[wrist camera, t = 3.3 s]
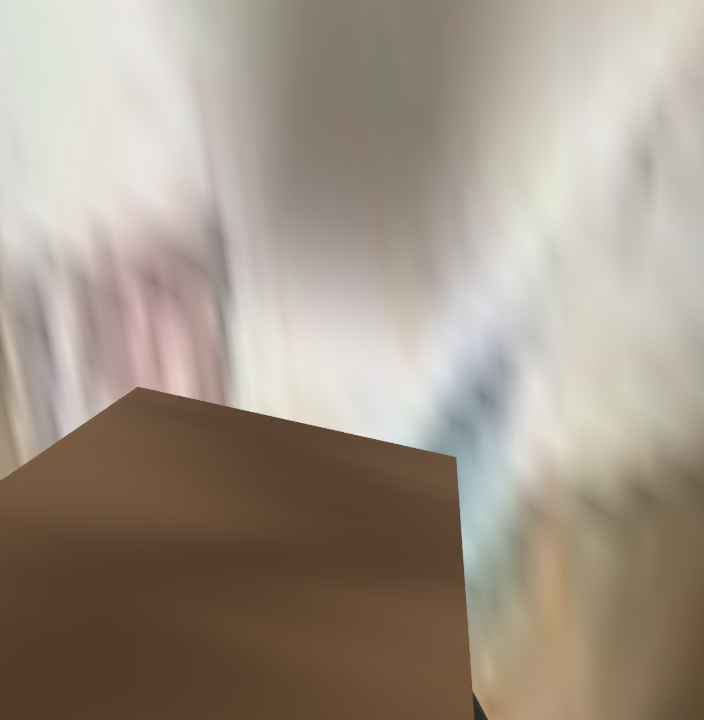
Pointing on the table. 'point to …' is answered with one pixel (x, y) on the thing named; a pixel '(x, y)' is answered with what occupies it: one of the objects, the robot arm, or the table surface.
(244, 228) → the table surface
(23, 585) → the walnut block
